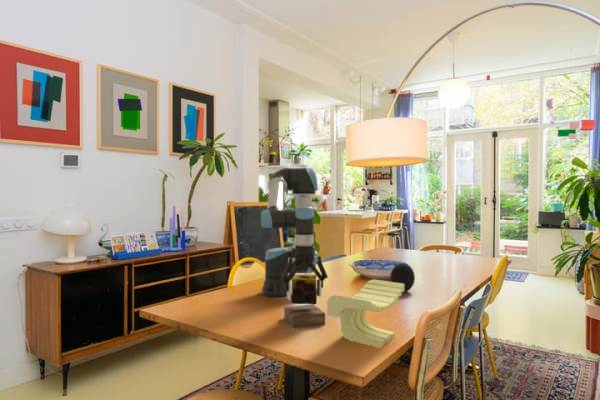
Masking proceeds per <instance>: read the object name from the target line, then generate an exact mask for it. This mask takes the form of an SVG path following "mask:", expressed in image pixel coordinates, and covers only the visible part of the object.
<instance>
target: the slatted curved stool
mask: <svg viewBox="0 0 600 400" xmlns="http://www.w3.org/2000/svg"><path fill="white" fill-rule="evenodd" d="M403 293H405V292H404V284H402V283H396V282H391V281H386V280H381V279H373V278H372V279H370V280H369V281H366V282H365V284H364V285H363V286H362V287H361V289H360V290H358V292H357V293H356V294H354V295H353V296H351V297H349V296H342V295H337V294H333V295H331V296H330V297H329V298H328V299H327V303H326V316H329V317H334V318H336V319H337V318H339V319H340V329H341V330H340V331H341V333H342V336H343V337H344V339H346V340H347V339H348V340H347V341H350V340H352V341H351V342H354V341H356V342H355V343H358V342H360V343H359V344H362V343H364V344H363V345H366V344H369V345H368V346H370V345H373V346H372V347H374V346H377V347H376V348H378V347H381V348H382V346H383V345H384V344H385V343H386V344H388V343H389V342H391V340H390V339H392V340H394V338H396V334H395V332H394V331H390V330H386V329H382V328H380V327H377V326H373V325H372V324H371V323H369V322H368V321H367V319H366V313H367V312H368V311H369V312H370V311H371V312H378V313H382V312H384V311H385V310H387V309H389V308H391V307H392V306H394V305H395V304H396V303H397V301H399V299H400V297H402V294H403ZM387 342H388V343H387ZM386 344H385V345H386ZM385 345H384V346H385ZM384 346H383V347H384Z"/></svg>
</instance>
